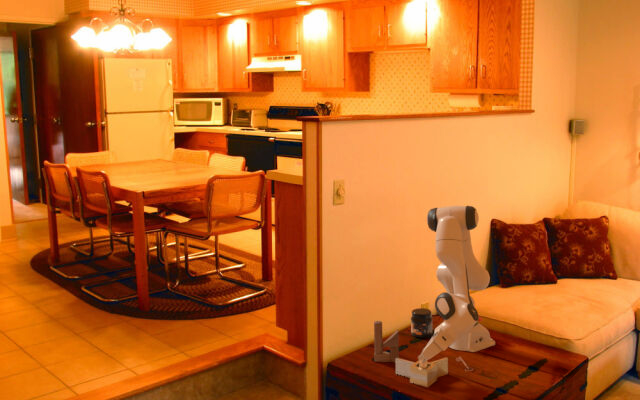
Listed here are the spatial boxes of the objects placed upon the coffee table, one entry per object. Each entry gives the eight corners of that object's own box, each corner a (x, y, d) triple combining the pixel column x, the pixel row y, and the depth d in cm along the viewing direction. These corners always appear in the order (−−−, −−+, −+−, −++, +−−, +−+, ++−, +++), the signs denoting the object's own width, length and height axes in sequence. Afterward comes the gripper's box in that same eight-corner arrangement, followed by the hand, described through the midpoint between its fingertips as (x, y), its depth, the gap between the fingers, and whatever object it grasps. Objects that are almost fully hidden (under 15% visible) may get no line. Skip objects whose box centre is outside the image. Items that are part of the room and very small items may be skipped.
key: (451, 359, 279) (461, 373, 264) (451, 357, 279) (461, 371, 264) (464, 357, 279) (474, 371, 264) (464, 355, 279) (474, 369, 264)
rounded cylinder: (424, 379, 259) (424, 356, 257) (428, 382, 256) (428, 359, 254) (418, 380, 257) (417, 357, 256) (422, 383, 254) (421, 360, 253)
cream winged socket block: (448, 373, 263) (448, 357, 262) (429, 388, 250) (429, 371, 249) (411, 363, 274) (410, 348, 273) (391, 377, 262) (391, 361, 260)
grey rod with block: (398, 362, 275) (397, 323, 273) (374, 362, 277) (373, 323, 274) (398, 359, 279) (398, 320, 276) (374, 358, 281) (373, 320, 278)
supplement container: (406, 334, 308) (406, 311, 307) (421, 329, 315) (421, 306, 313) (421, 340, 300) (421, 316, 298) (437, 335, 306) (437, 311, 304)
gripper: (445, 320, 260) (422, 339, 265) (433, 338, 241) (409, 358, 246) (456, 331, 258) (433, 351, 264) (445, 350, 240) (420, 370, 245)
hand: (421, 355), depth 255 cm, fingers open, 6 cm apart
